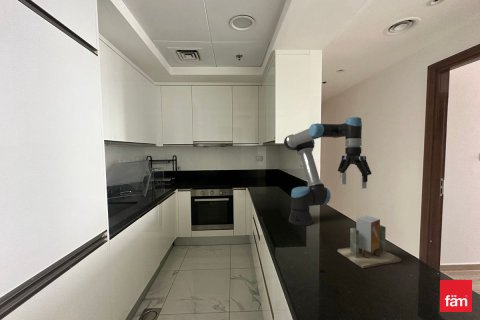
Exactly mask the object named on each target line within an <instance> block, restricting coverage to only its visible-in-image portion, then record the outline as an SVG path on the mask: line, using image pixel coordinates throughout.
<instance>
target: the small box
mask: <svg viewBox="0 0 480 320" xmlns="http://www.w3.org/2000/svg"><path fill="white" fill-rule="evenodd" d="M355 223H356V228H355V229H357V230H359V248H361V249H363V250H366V251H369V252H372V251H374V250H376V249H378V248H379V247H380V225H381V219H380V218H376V217H373V216H368V215H363V216H360V217H357V218H356V222H355Z"/></svg>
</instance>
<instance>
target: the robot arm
mask: <svg viewBox="0 0 480 320" xmlns="http://www.w3.org/2000/svg"><path fill="white" fill-rule="evenodd" d="M362 127H363V123H362V118H361V117H358V116H355V117H354V116H353V117H347V118H346V119H345V122H344V123H339V124H338V123H319V122H317V123H312V124H311V125H310V126H309V128H307V129H304V130H301V131H300V132H297V133H294V134H293V133H292V134H289V135H287V136H286V137H284V140H283V144H284V147H285V148H286V149H287V150H289V151H296V152H297V155H299V157H300V159H301V163H302V166H303V170H304V173H305V177H306V181H307V186H297V187H294V188H292V190H291V194H290V196H291V210H290V214H289V218H288V222H289V223H290V224H292V225H294V226H301V227H303V226H304V227H305V226H306V227H307V226H311V225H313V217H312V215H311V211H310V207H313V206H324V205H327V204H328V203H329V202H330V201H331V196H332V195H331V191H330V189H329V188H328V187H325V184H324V183H323V182H322V181H321V179H320V176H319V172H318V169H317V165H316V162H315V159H314V155H313V151H314V148H315V140H316V139H321V138H333V139H334V138H337V139H338V138H344V137H345V141H344V143H345V144H344V145H345V146H344V147H345V148H344V149H345V150H344V152H345V155H341V161H340V163H339V165H338V168H337V172H339V173H340V185H347V170H348V168H349V167H350V165H355V166H356V168H357V169H358V170H359V172H360V173H361V175H360V189H362V190H363V189H367V185H368V184H367V183H368V178H369V177H368V176H370V175H372V170H371V168H370V166H369V164H368V161H367V156H366V155H361V154H362V141H363V140H362V137H363V136H362V134H363V133H362Z"/></svg>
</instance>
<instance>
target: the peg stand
mask: <svg viewBox="0 0 480 320" xmlns="http://www.w3.org/2000/svg"><path fill="white" fill-rule="evenodd" d="M349 230H350V231H349V232H350V242H349V243H350V245H349V246H350V247H344V248H338V249H337V252H338V253H339V254H341V255H342V256H344V257H345V258H347V259H348V260H349V261H351V262H353V263H354V264H356V265H357V266H359V267H360V268H362V269H366V268H371V267H377V266H384V265H387V264H389V265H390V264H394V263H400V262H402V258H400V257H399V256H397V255H395V254H392V253H390V252H388V251H386V234H387V232H386V231H387V230H386V226H384V225H381V224H380V247H379V248H378V249H376V250H374V251H372V252H369V251H366V250H363V249H361V248H359V230H357V229H356V228H355V227H351V228H350V229H349Z"/></svg>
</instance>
